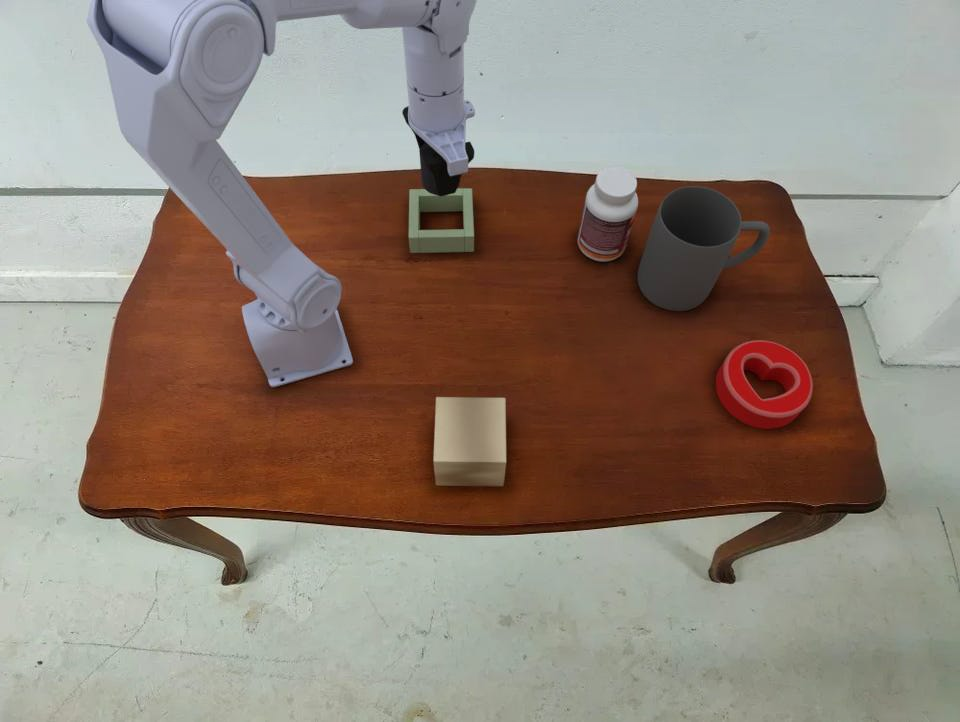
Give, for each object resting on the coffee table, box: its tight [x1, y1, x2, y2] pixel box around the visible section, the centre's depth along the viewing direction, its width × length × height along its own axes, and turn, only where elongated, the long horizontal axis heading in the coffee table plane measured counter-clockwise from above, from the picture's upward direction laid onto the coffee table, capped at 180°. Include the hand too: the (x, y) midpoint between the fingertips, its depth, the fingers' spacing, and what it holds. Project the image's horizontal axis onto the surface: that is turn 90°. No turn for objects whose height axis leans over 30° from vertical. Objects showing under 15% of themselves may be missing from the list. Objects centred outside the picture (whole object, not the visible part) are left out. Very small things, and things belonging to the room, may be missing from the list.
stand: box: [432, 396, 507, 487], centre depth 72 cm, size 7×7×6 cm
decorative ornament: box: [715, 339, 814, 430], centre depth 78 cm, size 10×10×3 cm
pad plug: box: [419, 143, 461, 195], centre depth 81 cm, size 4×4×4 cm
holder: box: [408, 187, 475, 254], centre depth 89 cm, size 8×8×3 cm
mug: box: [637, 185, 771, 312], centre depth 82 cm, size 14×9×12 cm
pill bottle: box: [577, 166, 639, 263], centre depth 85 cm, size 6×6×11 cm
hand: (440, 177), depth 82 cm, fingers closed on pad plug, 4 cm apart
